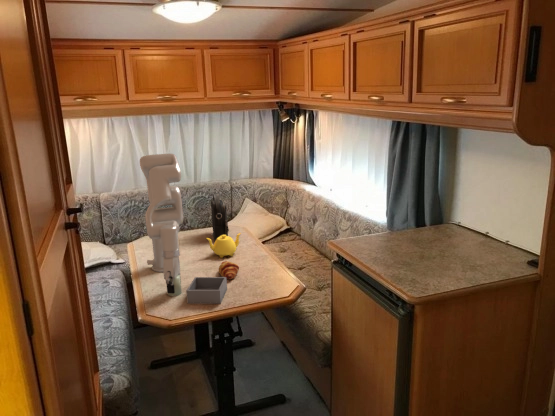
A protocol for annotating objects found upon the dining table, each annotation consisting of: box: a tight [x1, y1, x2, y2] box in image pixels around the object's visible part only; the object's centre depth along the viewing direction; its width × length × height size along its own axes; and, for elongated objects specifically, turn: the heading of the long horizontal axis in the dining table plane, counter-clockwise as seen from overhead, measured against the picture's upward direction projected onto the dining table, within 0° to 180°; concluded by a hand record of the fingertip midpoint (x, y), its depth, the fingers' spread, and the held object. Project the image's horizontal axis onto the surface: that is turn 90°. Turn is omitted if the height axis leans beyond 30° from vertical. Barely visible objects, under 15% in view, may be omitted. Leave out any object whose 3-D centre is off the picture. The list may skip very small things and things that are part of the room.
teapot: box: [205, 232, 242, 259], centre depth 255 cm, size 20×15×12 cm
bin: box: [185, 276, 228, 305], centre depth 203 cm, size 15×15×6 cm
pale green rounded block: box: [167, 274, 182, 297], centre depth 207 cm, size 6×6×8 cm
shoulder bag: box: [210, 193, 230, 242], centre depth 284 cm, size 23×9×28 cm, turn 15°
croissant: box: [217, 260, 240, 280], centre depth 228 cm, size 21×10×8 cm, turn 12°
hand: (174, 288), depth 208 cm, fingers open, 9 cm apart
